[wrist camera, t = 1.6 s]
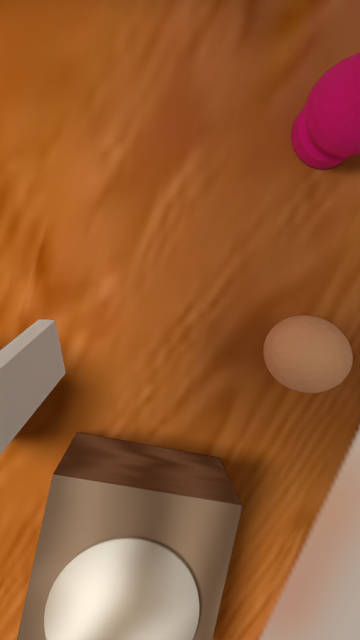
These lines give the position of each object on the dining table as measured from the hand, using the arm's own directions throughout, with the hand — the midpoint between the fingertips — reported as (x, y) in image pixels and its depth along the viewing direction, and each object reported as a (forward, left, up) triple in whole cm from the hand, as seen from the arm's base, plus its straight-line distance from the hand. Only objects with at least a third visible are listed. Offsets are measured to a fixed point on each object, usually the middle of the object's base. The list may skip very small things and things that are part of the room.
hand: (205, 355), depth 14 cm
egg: (+11, +1, -18) cm, 22 cm away
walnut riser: (0, -20, -18) cm, 27 cm away
